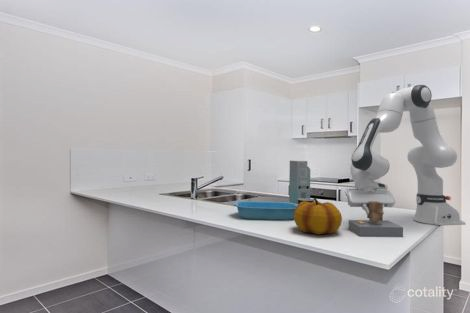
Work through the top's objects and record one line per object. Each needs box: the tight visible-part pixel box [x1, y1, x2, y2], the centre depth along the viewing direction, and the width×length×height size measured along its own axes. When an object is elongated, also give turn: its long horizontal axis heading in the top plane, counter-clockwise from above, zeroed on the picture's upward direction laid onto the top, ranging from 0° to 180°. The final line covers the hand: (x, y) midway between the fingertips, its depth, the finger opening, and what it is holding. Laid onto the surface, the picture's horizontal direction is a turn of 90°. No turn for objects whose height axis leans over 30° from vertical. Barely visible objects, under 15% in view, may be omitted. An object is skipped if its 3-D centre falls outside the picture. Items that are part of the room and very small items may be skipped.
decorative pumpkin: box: [293, 197, 343, 236], centre depth 137 cm, size 20×22×15 cm
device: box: [288, 160, 311, 204], centre depth 186 cm, size 16×8×30 cm, turn 6°
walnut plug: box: [366, 201, 384, 225], centre depth 136 cm, size 4×6×11 cm, turn 0°
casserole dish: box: [232, 200, 298, 221], centre depth 168 cm, size 37×22×7 cm, turn 89°
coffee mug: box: [298, 198, 315, 204], centre depth 166 cm, size 12×9×10 cm
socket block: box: [348, 219, 404, 238], centre depth 136 cm, size 18×13×5 cm
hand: (375, 213), depth 135 cm, fingers closed on walnut plug, 4 cm apart
